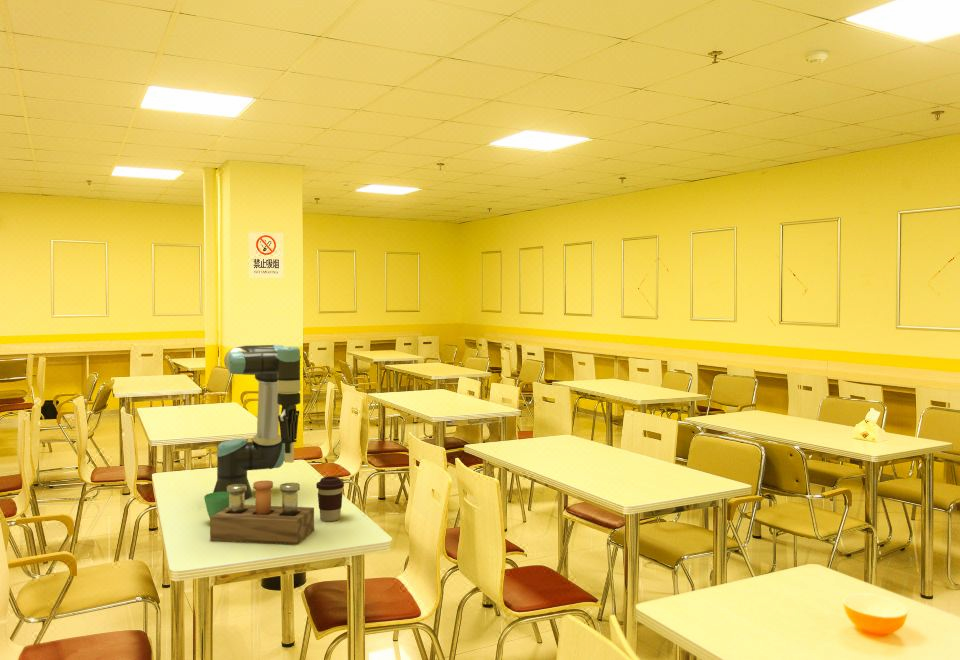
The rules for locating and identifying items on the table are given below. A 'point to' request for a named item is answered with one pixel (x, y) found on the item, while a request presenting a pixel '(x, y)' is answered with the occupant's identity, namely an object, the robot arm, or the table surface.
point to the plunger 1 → (236, 498)
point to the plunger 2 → (289, 498)
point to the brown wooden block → (262, 526)
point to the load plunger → (263, 497)
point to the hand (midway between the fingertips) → (289, 462)
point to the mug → (216, 502)
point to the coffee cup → (330, 498)
